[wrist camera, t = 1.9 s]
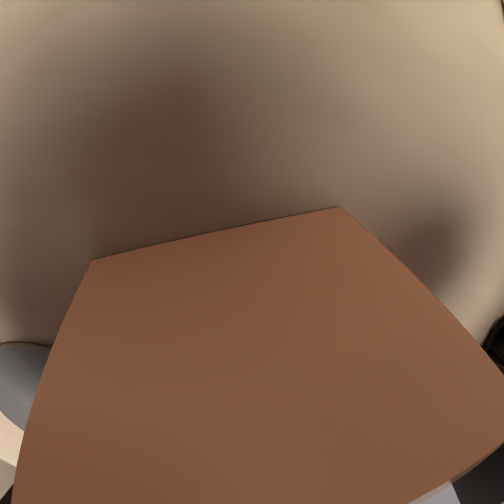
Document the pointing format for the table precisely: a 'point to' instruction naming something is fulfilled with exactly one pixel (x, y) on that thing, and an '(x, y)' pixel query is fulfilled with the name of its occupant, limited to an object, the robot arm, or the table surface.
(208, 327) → the peach beveled cube
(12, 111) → the table surface
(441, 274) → the table surface
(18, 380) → the coaster
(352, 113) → the table surface
